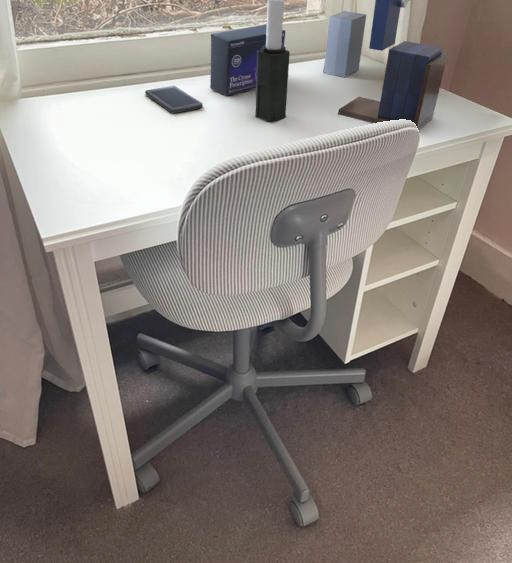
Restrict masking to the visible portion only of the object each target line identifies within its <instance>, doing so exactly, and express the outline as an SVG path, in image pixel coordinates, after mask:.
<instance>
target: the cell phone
mask: <svg viewBox="0 0 512 563" xmlns="http://www.w3.org/2000/svg"><path fill="white" fill-rule="evenodd" d="M144 93H145V95H146V96H148V98H150V99H151V100H153V101H154V102H155V103H157V104H159V105H160V106H161V107H162V108H164V109H165V110H167V111H168V112H170V113H172V114H177V113H182V112H188V111H193V110H197V109H201V108H202V107H204V105H203V102H201V101H200V100H198V99H196V98H195V97H193V96H192V95H190V94H188V92H186V91H183V90H182V89H180V87H178V86H175V85H169V86H163V87H157V88H152V89H145V92H144Z"/></svg>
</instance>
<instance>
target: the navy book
mask: <svg viewBox="0 0 512 563" xmlns="http://www.w3.org/2000/svg"><path fill="white" fill-rule="evenodd" d="M397 2H398V0H374V9H373V17H372V24H371V32H370V39H369V46H368V49H369V50H374V51H380V52H382V51H385V50H387V49H388V48H390V47H392V46H393V45H395V44H396V39H397V38H396V37H397V32H398V27H399V26H398V25H399V21H400V20H399V19H400V14H401V8H402V7H398V4H397Z"/></svg>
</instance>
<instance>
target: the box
mask: <svg viewBox="0 0 512 563" xmlns="http://www.w3.org/2000/svg"><path fill="white" fill-rule="evenodd" d="M266 31H267V23H265V24H260V25H255V26H249V27H248V26H247V27H244V28H242V27H241V28H235V29H231V30H225V31H219V32H213V33H210V84H209V89H210V90H213V91H215V92H218V93H220V94H222V95H223V96H227V97H228V96H232V95H236V94H241V93H245V92H248V91H252V90H256V73H257V51H258V50H260V49H261V48H262V46H263V45H266ZM285 40H286V30H285V29H282V43H281V46H284V47H285Z"/></svg>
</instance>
